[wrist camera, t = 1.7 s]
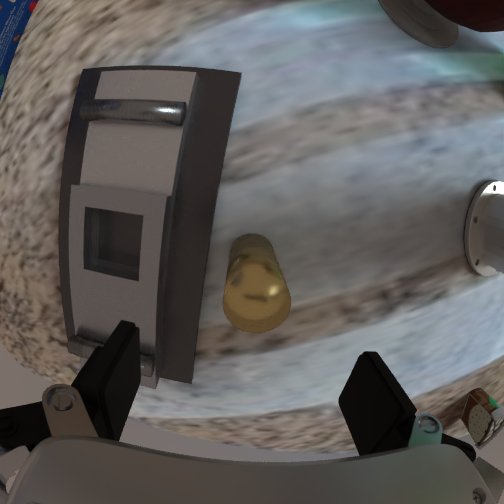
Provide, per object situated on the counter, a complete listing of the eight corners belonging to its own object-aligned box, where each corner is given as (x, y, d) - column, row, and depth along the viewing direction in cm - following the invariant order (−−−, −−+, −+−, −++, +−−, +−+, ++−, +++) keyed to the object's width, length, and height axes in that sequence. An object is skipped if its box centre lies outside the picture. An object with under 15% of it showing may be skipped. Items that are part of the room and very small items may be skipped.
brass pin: (277, 237, 26) (298, 278, 16) (268, 278, 27) (282, 336, 17) (234, 230, 25) (228, 266, 16) (227, 271, 26) (218, 327, 17)
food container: (479, 408, 37) (500, 435, 28) (458, 421, 38) (478, 451, 28) (491, 372, 34) (518, 400, 24) (470, 387, 34) (496, 419, 25)
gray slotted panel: (241, 76, 21) (240, 50, 16) (192, 378, 30) (185, 415, 24) (87, 71, 20) (56, 55, 14) (73, 346, 29) (51, 374, 23)
